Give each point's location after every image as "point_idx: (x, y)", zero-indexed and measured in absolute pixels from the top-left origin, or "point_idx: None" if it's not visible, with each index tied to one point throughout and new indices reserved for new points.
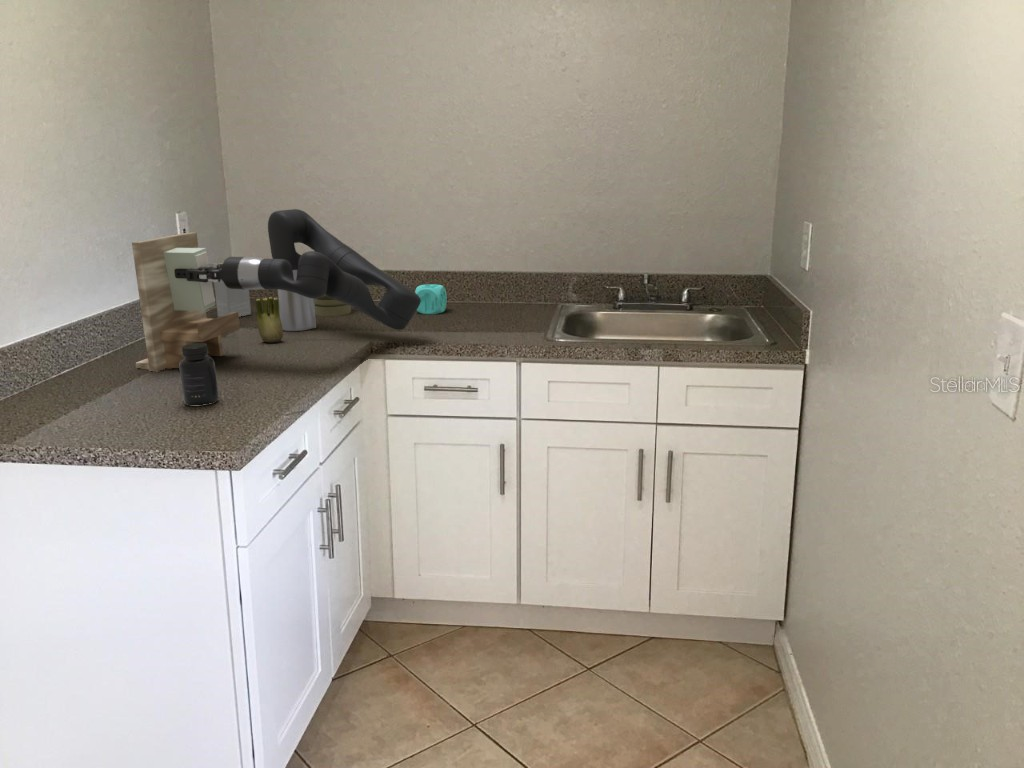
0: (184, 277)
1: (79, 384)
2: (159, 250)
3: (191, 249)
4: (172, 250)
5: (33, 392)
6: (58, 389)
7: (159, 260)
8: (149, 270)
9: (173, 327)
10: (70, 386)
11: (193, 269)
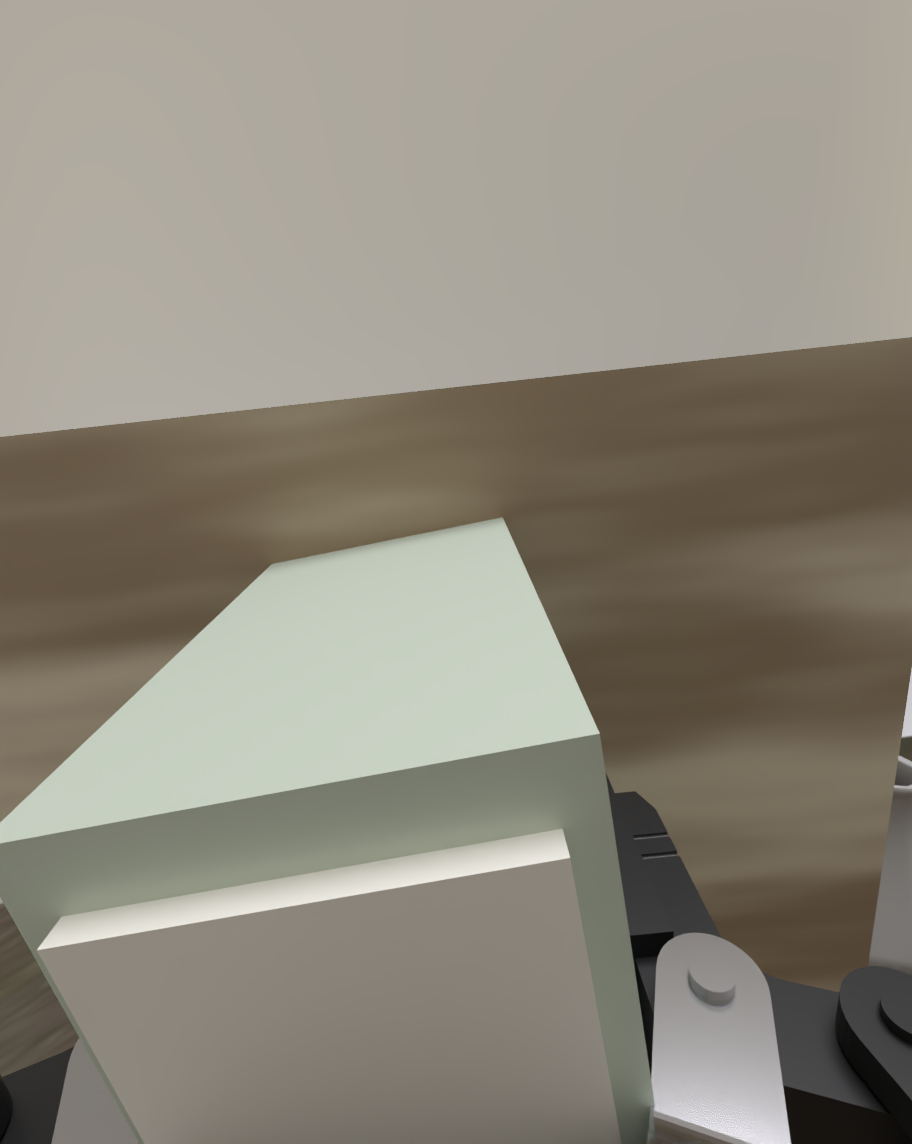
0: None
1: (63, 1017)
2: (202, 543)
3: (412, 629)
4: (360, 557)
5: (6, 937)
6: (9, 991)
7: None
8: (52, 728)
9: None
10: (41, 1004)
11: (57, 1138)
